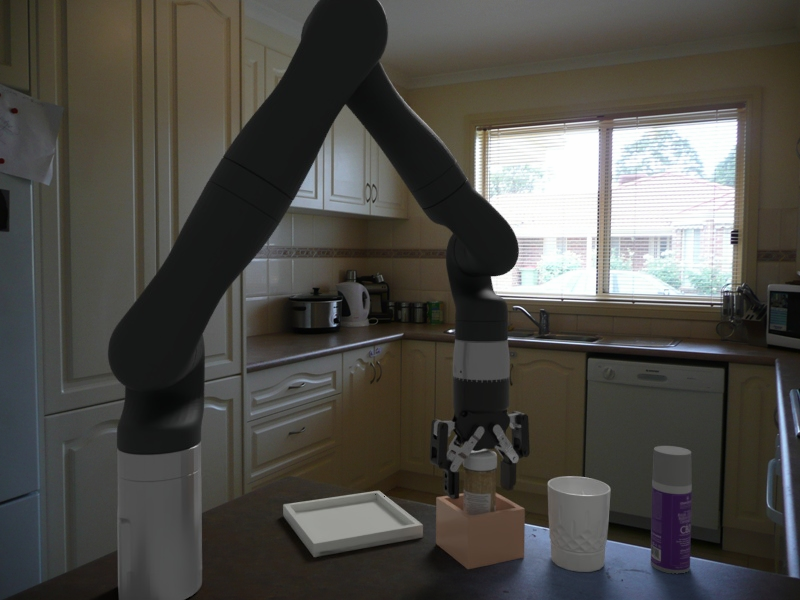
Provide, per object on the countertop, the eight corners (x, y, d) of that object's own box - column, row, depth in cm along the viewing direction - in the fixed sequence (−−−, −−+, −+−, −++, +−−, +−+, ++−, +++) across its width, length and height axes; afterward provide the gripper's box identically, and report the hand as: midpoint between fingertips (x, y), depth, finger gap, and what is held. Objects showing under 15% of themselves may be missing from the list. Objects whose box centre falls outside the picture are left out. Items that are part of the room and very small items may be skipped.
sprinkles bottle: (501, 549, 88) (503, 451, 88) (486, 560, 84) (487, 458, 84) (472, 540, 91) (473, 445, 90) (455, 552, 87) (456, 452, 87)
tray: (314, 557, 85) (314, 543, 85) (283, 516, 100) (283, 504, 100) (422, 537, 92) (422, 524, 92) (379, 501, 106) (379, 490, 106)
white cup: (595, 581, 79) (597, 500, 79) (536, 563, 84) (537, 486, 83) (617, 558, 85) (619, 483, 85) (560, 543, 90) (562, 472, 90)
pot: (467, 569, 82) (468, 518, 82) (436, 543, 90) (436, 497, 89) (524, 557, 85) (524, 508, 85) (488, 533, 93) (489, 489, 93)
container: (686, 577, 80) (689, 457, 79) (646, 568, 83) (649, 451, 82) (692, 563, 84) (695, 448, 83) (654, 554, 86) (657, 443, 86)
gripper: (447, 381, 80) (447, 510, 81) (541, 373, 86) (540, 494, 87) (420, 372, 87) (420, 492, 88) (509, 366, 93) (509, 478, 94)
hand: (480, 493), depth 87 cm, fingers open, 8 cm apart
